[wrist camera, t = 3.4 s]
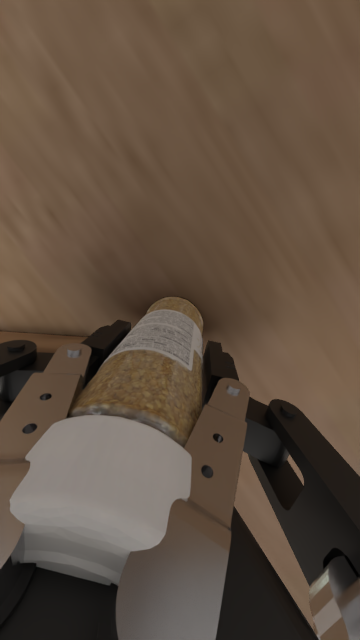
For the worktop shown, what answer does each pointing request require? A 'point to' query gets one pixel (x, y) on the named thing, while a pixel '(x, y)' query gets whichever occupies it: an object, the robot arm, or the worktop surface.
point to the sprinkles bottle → (117, 452)
